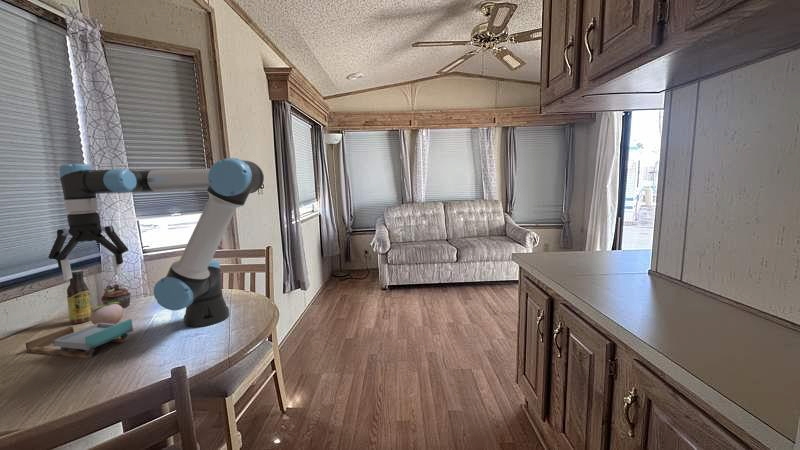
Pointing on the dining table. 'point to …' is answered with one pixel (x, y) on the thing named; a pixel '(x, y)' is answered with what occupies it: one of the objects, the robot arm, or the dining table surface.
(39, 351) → the rails
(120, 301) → the cupcake
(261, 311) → the dining table surface
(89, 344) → the shallow teal tray
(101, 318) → the decorative fruit
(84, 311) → the sauce bottle
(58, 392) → the dining table surface
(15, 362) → the dining table surface
